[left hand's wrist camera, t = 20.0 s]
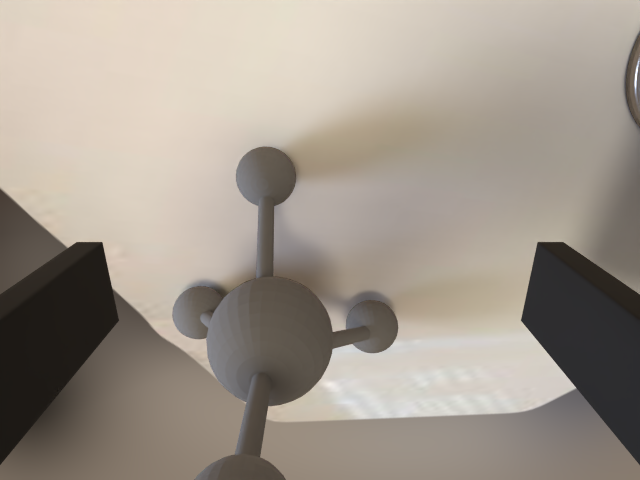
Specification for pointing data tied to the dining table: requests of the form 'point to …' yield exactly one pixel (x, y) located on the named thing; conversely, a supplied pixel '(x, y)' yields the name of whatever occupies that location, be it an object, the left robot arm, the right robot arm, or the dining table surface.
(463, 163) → the dining table surface
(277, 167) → the molecular model
